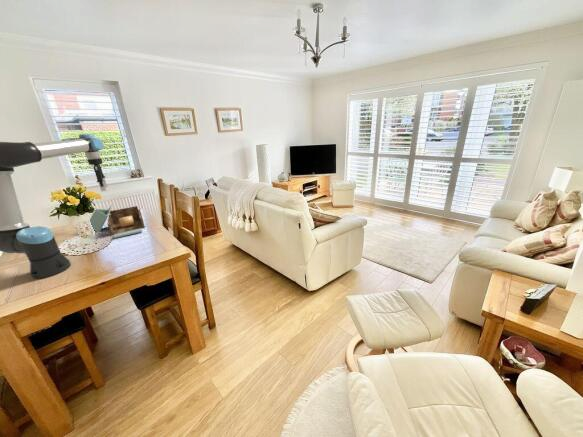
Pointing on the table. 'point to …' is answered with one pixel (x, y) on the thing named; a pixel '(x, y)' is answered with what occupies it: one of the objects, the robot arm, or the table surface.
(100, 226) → the planter
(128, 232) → the panel
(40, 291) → the table surface
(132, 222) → the peach pillar candle
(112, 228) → the brown open rectangular box
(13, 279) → the table surface
